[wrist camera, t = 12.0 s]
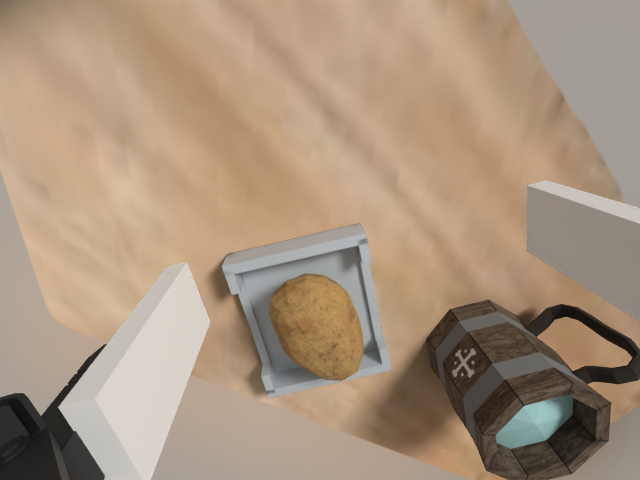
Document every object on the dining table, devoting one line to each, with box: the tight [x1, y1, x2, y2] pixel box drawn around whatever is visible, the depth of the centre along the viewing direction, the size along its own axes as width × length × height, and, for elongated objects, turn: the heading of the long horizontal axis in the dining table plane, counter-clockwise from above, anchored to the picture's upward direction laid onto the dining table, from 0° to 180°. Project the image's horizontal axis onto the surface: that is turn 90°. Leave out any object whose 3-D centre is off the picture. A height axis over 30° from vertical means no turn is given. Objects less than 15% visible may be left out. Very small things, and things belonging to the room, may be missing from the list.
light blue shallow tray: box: [222, 223, 391, 398], centre depth 43 cm, size 19×16×4 cm
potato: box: [269, 273, 364, 381], centre depth 40 cm, size 10×14×8 cm
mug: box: [426, 300, 640, 480], centre depth 41 cm, size 20×14×15 cm
